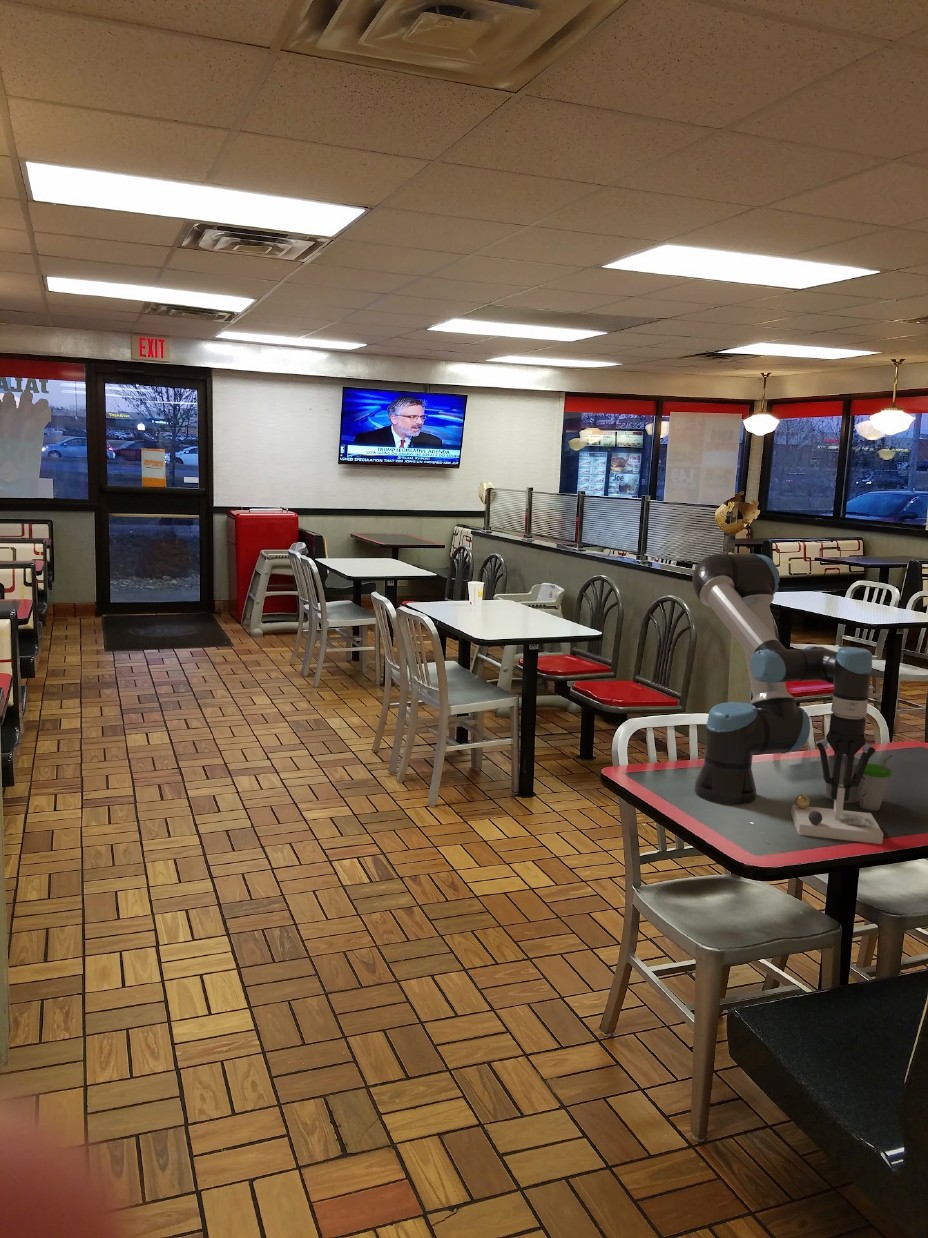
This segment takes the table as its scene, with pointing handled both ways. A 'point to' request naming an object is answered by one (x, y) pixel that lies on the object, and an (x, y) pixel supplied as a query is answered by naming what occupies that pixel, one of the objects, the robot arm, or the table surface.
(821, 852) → the table surface
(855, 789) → the cup
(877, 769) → the cup
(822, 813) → the plate
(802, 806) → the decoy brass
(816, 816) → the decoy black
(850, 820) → the steel ball
